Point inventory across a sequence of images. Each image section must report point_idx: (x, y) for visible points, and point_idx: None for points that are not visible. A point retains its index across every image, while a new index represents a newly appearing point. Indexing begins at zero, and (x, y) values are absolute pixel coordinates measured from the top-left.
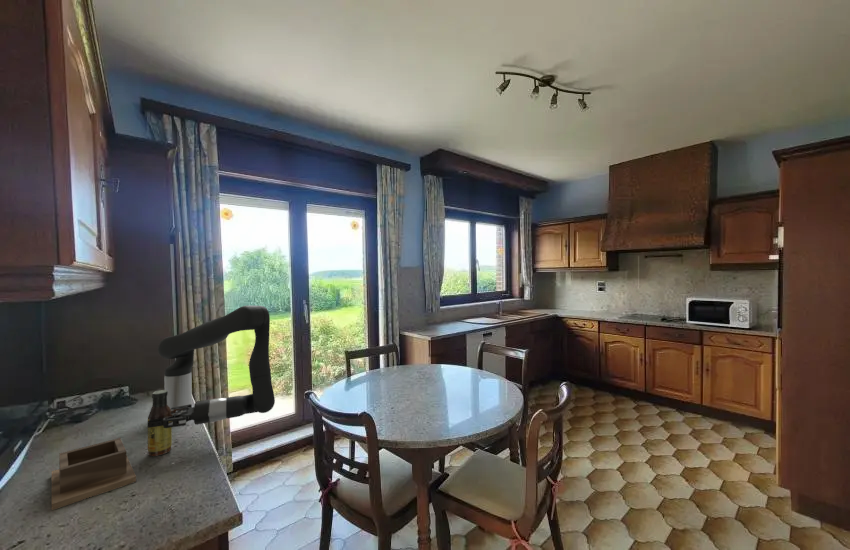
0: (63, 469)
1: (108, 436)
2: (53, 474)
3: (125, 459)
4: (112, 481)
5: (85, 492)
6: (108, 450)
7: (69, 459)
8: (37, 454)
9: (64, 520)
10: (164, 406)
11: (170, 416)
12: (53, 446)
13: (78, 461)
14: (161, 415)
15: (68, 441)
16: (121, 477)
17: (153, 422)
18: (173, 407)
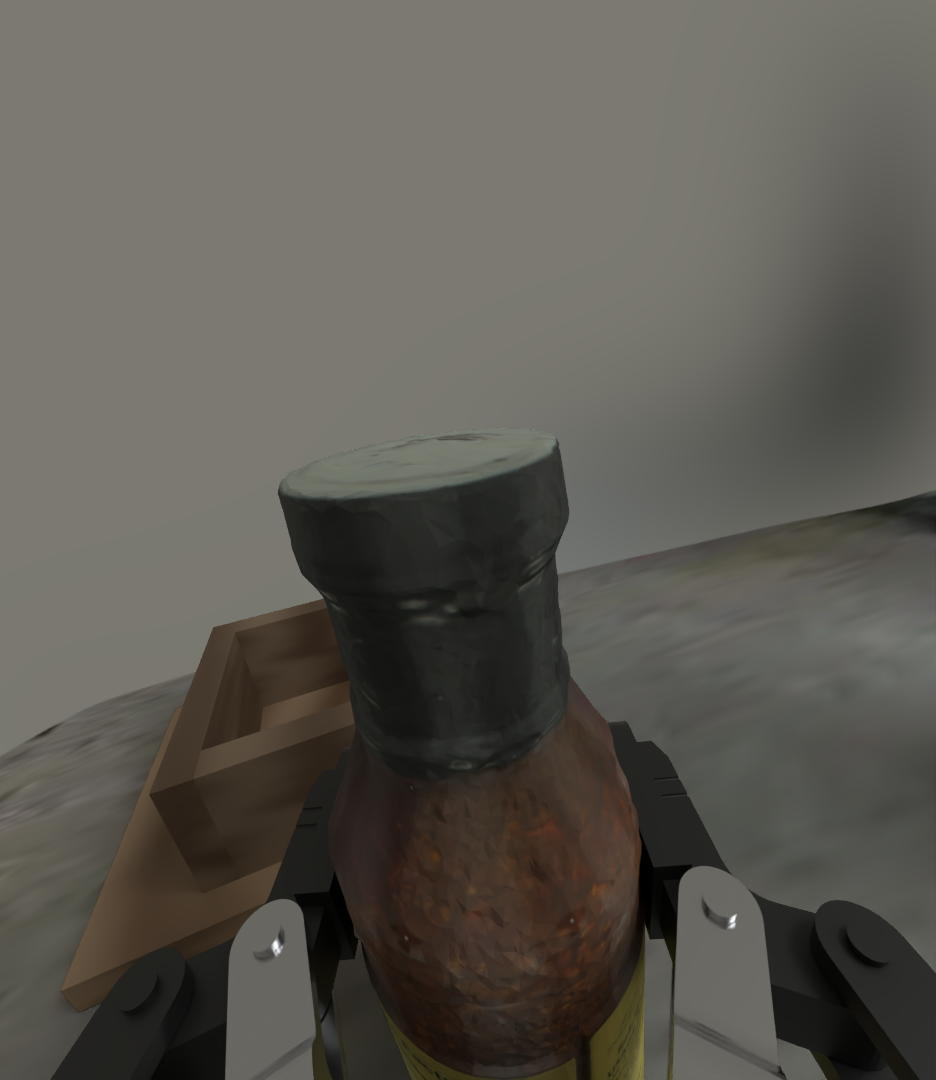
0: (213, 632)
1: (836, 642)
2: None
3: (173, 828)
4: (152, 850)
5: (155, 773)
6: None
7: None
8: (659, 559)
9: (39, 790)
10: (379, 774)
11: (267, 1054)
12: (717, 561)
13: None
14: (329, 846)
15: (761, 571)
16: (157, 885)
17: (301, 812)
18: (884, 954)
